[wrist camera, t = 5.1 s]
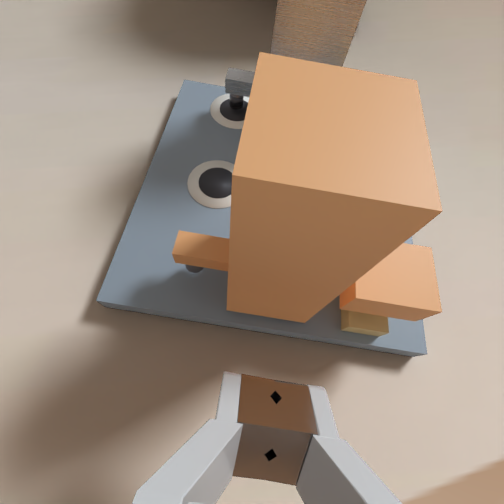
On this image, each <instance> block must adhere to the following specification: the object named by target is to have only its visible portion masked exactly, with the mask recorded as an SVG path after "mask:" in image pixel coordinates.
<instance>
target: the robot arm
mask: <svg viewBox="0 0 504 504" xmlns="http://www.w3.org/2000/svg"><path fill="white" fill-rule="evenodd" d="M232 476H236V477H245V478H253V479H262V480H268V481H273V482H279V483H284V484H290V485H295V486H296V489H297V491H298V492H299V494H300V496H301V498H302V500H303V502H304V504H402V503H401V502H400V501H399V499H398V498H397V497H396V496H395V495H394V494H393V493H392V492H391V490H390V489H389V488H388V487H387V486H386V485H385V484H384V483H383V481H382V480H381V479H380V478H379V477H378V476H377V475H376V474H375V472H374V471H373V470H372V469H371V468H370V467H369V466H368V465H367V464H366V462H365V461H364V460H363V459H362V458H361V457H360V456H359V455H358V453H357V452H356V451H355V450H354V449H353V448H352V447H351V446H350V444H349V443H348V442H347V441H346V440H344V439H340V437H339V434H338V430H337V427H336V423H335V420H334V416H333V413H332V409H331V406H330V402H329V399H328V395H327V392H326V389H325V388H324V387H321V386H314V385H305V384H298V383H292V382H285V381H278V380H272V379H266V378H261V377H255V376H250V375H245V374H237V373H232V372H227V371H224V374H223V378H222V384H221V390H220V395H219V401H218V407H217V412H216V418H215V419H209V420H208V421H207V422H206V423H205V424H204V425H203V426H202V427H201V428H200V429H199V430H198V431H197V432H196V433H195V434H194V435H193V436H192V437H191V438H190V439H189V440H188V441H187V442H186V443H185V444H184V445H183V446H182V447H181V448H180V449H179V450H178V451H177V452H176V453H175V454H174V455H173V456H172V457H171V458H170V459H169V460H168V461H167V462H166V463H165V464H164V465H163V466H162V467H161V468H160V469H159V470H158V471H157V472H156V473H155V474H154V475H153V476H152V477H151V478H150V479H148V480H147V481H146V482H145V483H144V484H143V485H142V486H141V487H140V488H139V489H138V490H137V492H136V495H135V497H134V500H133V502H132V504H216V502H217V501H218V499H219V498H220V496H221V494H222V493H223V491H224V490H225V488H226V487H227V485H228V484H229V482H230V481H231V479H232Z"/></svg>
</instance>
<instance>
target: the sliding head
mask: <svg viewBox="0 0 504 504" xmlns="http://www.w3.org/2000/svg"><path fill="white" fill-rule="evenodd" d="M441 212H442V206H441V201H440V196H439V191H438V186H437V181H436V176H435V171H434V166H433V161H432V156H431V151H430V145H429V140H428V135H427V130H426V125H425V120H424V115H423V110H422V105H421V100H420V95H419V90H418V84H417V80H411V79H406V78H401V77H395V76H390V75H384V74H379V73H373V72H368V71H362V70H357V69H351V68H346V67H340V66H335V65H329V64H324V63H318V62H313V61H307V60H302V59H296V58H291V57H286V56H280V55H275V54H269V53H264V52H259V57H258V61H257V66H256V70H255V75H254V79H253V84H252V88H251V93H250V97H249V102H248V106H247V111H246V115H245V119H244V124H243V128H242V133H241V137H240V142H239V146H238V151H237V155H236V160H235V164H234V169H233V173H232V190H231V214H230V238H229V239H228V238H222V237H216V236H210V235H204V234H198V233H192V232H186V231H181V230H179V231H178V234H177V238H176V241H175V245H174V248H173V251H172V255H173V258H174V261H175V263H180V264H185V266H186V268H187V270H188V271H190V272H192V273H197V272H200V271H202V270H203V268H210V269H216V270H222V271H228V285H227V309H226V310H228V311H234V312H240V313H246V314H252V315H259V316H265V317H271V318H277V319H283V320H289V321H295V322H302V323H305V322H306V321H308V320H309V319H310V318H311V317H313V316H314V315H315V314H316V313H318V312H319V311H320V310H321V309H322V308H324V307H325V306H326V305H327V304H329V303H330V302H331V301H332V300H334V299H335V298H336V297H337V296H339V295H340V309H342V310H348V311H354V312H360V313H366V314H372V315H378V316H384V317H390V318H396V319H403V320H409V321H418V320H421V319H424V318H427V317H430V316H433V315H435V314H438V313H441V312H442V309H441V303H440V297H439V290H438V284H437V278H436V272H435V266H434V260H433V254H432V248H430V247H424V246H418V245H412V244H407V243H404V242H405V241H406V240H408V239H409V238H410V237H411V236H413V235H414V234H415V233H416V232H418V231H419V230H420V229H421V228H422V227H424V226H425V225H426V224H427V223H429V222H430V221H431V220H432V219H434V218H435V217H436V216H437V215H438V214H440V213H441Z"/></svg>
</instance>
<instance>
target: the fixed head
mask: <svg viewBox="0 0 504 504" xmlns="http://www.w3.org/2000/svg"><path fill="white" fill-rule="evenodd" d="M366 1H367V0H278V2H277V9H276V16H275V23H274V30H273V37H272V44H271V52H270V54H275V55H280V56H286V57H291V58H296V59H302V60H307V61H313V62H318V63H324V64H329V65H335V66H340V67H342V66H343V63H344V60H345V58H346V55H347V52H348V49H349V47H350V44H351V41H352V39H353V36H354V33H355V31H356V28H357V25H358V22H359V20H360V17H361V14H362V12H363V9H364V6H365V3H366ZM254 75H255V72H250V71H245V70H239V69H234V68H228V72H227V75H226V81H225V93H228V94H230V99H229V105H230V107H231V108H232V109H236V110H238V109H241V108H242V107H243V99H244V96H245V97H250V93H251V88H252V84H253V79H254Z"/></svg>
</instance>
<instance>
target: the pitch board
mask: <svg viewBox="0 0 504 504" xmlns="http://www.w3.org/2000/svg"><path fill="white" fill-rule="evenodd" d="M229 99H230V94H228V93H225V87H222V86H217V85H211V84H206V83H200V82H194V81H189V80H184V82H183V85H182V87H181V90H180V92H179V95H178V97H177V100H176V102H175V105H174V107H173V110H172V112H171V115H170V117H169V120H168V122H167V125H166V127H165V130H164V132H163V135H162V137H161V140H160V142H159V145H158V147H157V150H156V152H155V155H154V157H153V160H152V162H151V165H150V167H149V170H148V172H147V175H146V177H145V180H144V182H143V185H142V187H141V190H140V192H139V195H138V197H137V200H136V202H135V205H134V207H133V210H132V212H131V215H130V217H129V220H128V222H127V225H126V227H125V230H124V232H123V235H122V237H121V240H120V242H119V245H118V247H117V250H116V252H115V255H114V257H113V260H112V262H111V265H110V267H109V269H108V272H107V274H106V277H105V279H104V282H103V284H102V287H101V289H100V292H99V294H98V297H97V299H96V301H97V302H99V303H100V304H102V305H103V306H105V307H109V308H115V309H121V310H128V311H134V312H140V313H146V314H152V315H158V316H165V317H171V318H177V319H183V320H189V321H196V322H202V323H208V324H214V325H220V326H226V327H233V328H239V329H245V330H251V331H257V332H264V333H270V334H276V335H282V336H288V337H294V338H301V339H307V340H313V341H319V342H325V343H332V344H338V345H344V346H350V347H356V348H362V349H369V350H375V351H381V352H387V353H393V354H400V355H406V356H412V357H414V356H420V355H426V354H427V349H426V341H425V334H424V326H423V319H421V320H418V321H409V320H403V319H396V318H390V317H384V316H378V315H372V314H366V313H360V312H354V311H348V310H342V309H340V295H339V296H337V297H336V298H335V299H334V300H332V301H331V302H330V303H329V304H327V305H326V306H325V307H324V308H322V309H321V310H320V311H319V312H318V313H316V314H315V315H314V316H313V317H311V318H310V319H309V320H308V321H306V322H305V323H302V322H295V321H289V320H283V319H277V318H271V317H265V316H259V315H252V314H246V313H240V312H234V311H228V310H226V309H227V285H228V271H222V270H216V269H210V268H203V270H202V271H200V272H197V273H192V272H190V271H188V270H187V268H186V266H185V264H180V263H175V261H174V258H173V255H172V251H173V248H174V245H175V241H176V238H177V234H178V231H179V230H181V231H186V232H192V233H198V234H204V235H210V236H216V237H222V238H228V239H229V238H230V214H231V190H232V173H233V169H234V164H235V160H236V155H237V151H238V146H239V142H240V137H241V133H242V128H243V124H244V119H245V115H246V111H247V106H248V102H249V97H245V96H244V99H243V107H242V108H241V109H238V110H236V109H232V108H231V107H230V105H229ZM404 243H407V244H412V245H413V242H412V236H411V237H410V238H409V239H408V240H406V241H405V242H404Z"/></svg>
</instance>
